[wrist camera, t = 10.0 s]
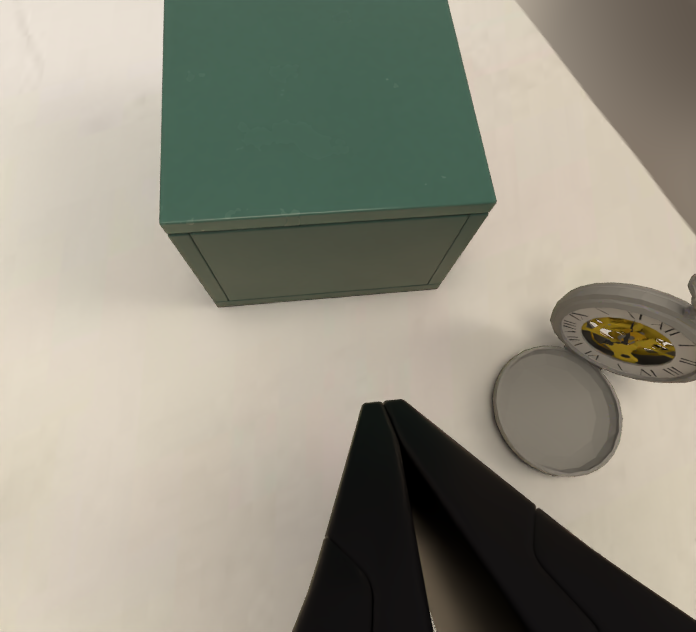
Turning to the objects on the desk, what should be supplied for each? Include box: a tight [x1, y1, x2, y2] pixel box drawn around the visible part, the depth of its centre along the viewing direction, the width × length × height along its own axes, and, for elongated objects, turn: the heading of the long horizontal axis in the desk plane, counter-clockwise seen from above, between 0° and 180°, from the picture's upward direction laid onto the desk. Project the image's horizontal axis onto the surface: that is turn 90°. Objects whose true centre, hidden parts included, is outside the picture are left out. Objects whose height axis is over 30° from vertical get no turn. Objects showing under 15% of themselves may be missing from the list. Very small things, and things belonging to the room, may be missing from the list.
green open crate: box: [168, 213, 488, 307], centre depth 22 cm, size 14×13×8 cm
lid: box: [159, 0, 497, 234], centre depth 17 cm, size 14×13×1 cm
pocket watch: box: [493, 274, 696, 477], centre depth 17 cm, size 8×8×10 cm
